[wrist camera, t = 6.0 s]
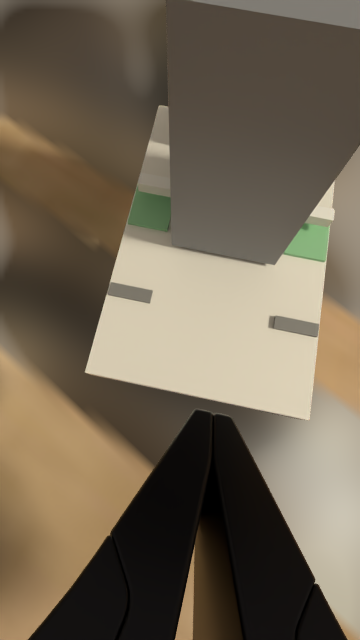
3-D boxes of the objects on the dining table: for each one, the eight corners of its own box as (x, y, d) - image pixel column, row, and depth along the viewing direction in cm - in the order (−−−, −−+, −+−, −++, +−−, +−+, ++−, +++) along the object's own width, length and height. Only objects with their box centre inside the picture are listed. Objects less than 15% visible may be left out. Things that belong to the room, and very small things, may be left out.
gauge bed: (299, 419, 15) (400, 431, 8) (91, 374, 16) (25, 351, 9) (329, 153, 19) (417, 10, 12) (160, 122, 20) (151, -34, 13)
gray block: (318, 273, 16) (550, 61, 6) (129, 236, 16) (58, -22, 6) (328, 184, 17) (533, -112, 7) (152, 151, 17) (122, -173, 8)
